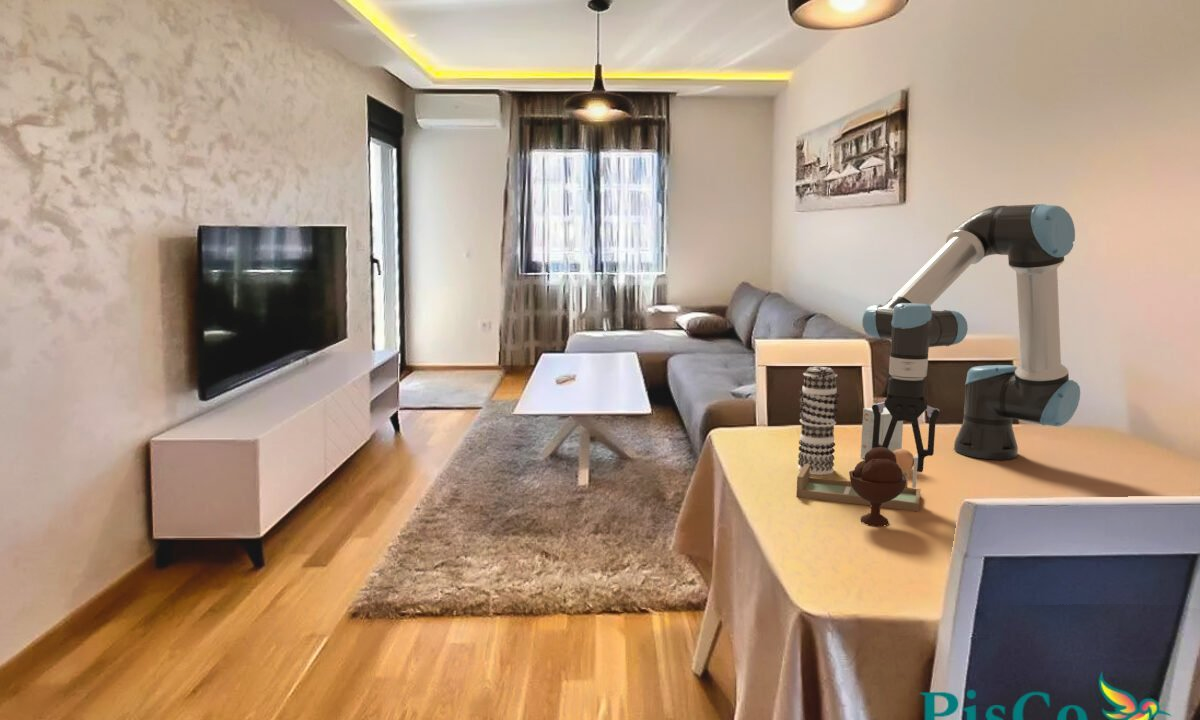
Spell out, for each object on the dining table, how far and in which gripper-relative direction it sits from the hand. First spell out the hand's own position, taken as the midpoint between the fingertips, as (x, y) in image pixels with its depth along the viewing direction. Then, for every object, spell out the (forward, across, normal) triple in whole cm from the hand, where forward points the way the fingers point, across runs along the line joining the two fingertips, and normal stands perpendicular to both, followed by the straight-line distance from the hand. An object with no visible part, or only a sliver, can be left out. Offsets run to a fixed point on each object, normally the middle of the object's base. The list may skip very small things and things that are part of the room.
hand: (900, 484), depth 180 cm
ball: (-5, 0, 0) cm, 5 cm away
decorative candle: (+4, -20, +18) cm, 27 cm away
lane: (+4, -8, 0) cm, 9 cm away
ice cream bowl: (+4, -4, -15) cm, 16 cm away
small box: (+4, -6, +33) cm, 33 cm away
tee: (+4, -1, +10) cm, 10 cm away
